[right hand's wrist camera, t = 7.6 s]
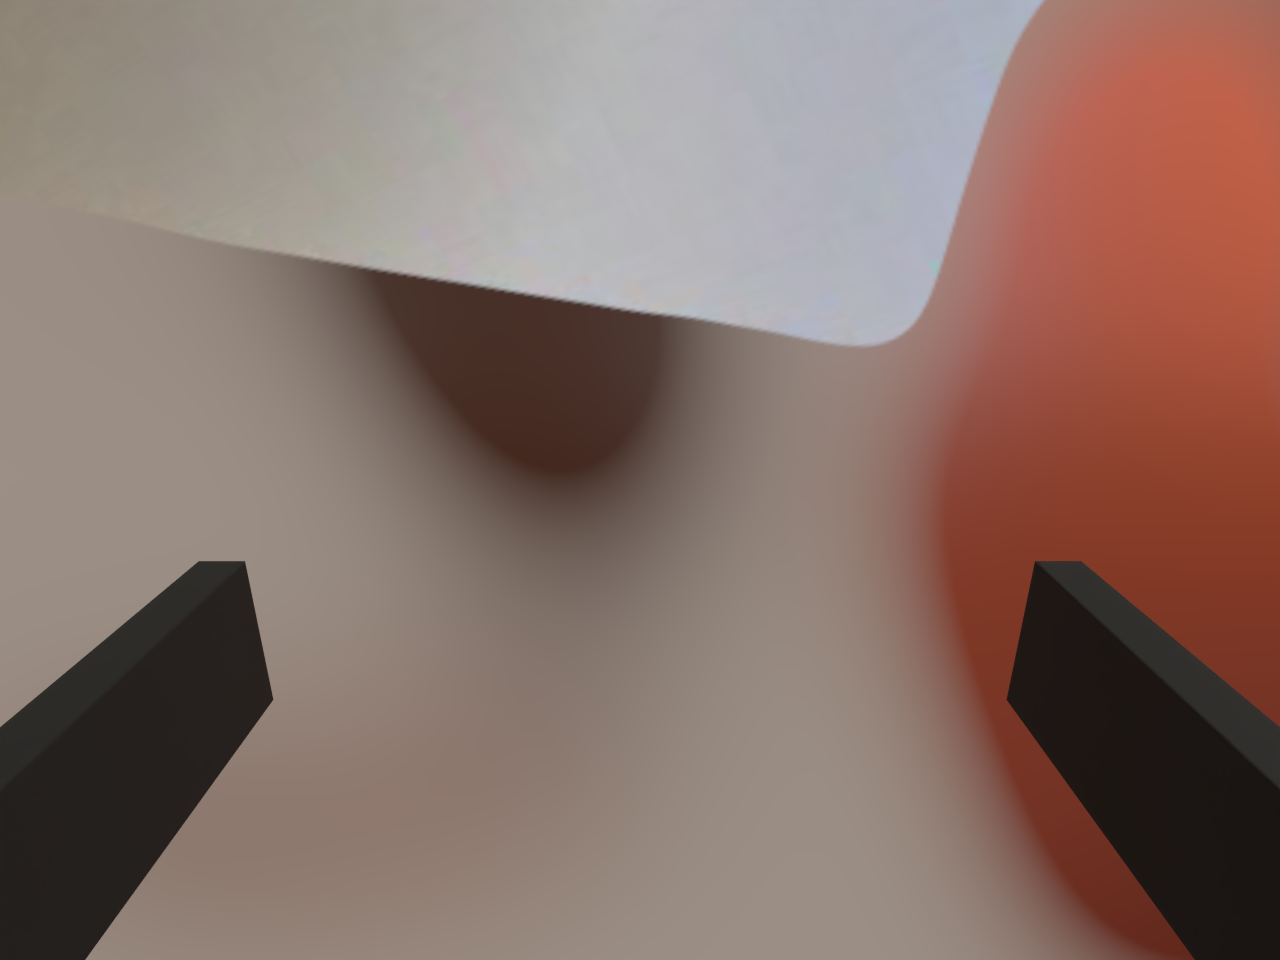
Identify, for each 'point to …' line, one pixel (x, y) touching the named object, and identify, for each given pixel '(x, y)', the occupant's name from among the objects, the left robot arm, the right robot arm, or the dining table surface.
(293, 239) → the dining table surface
